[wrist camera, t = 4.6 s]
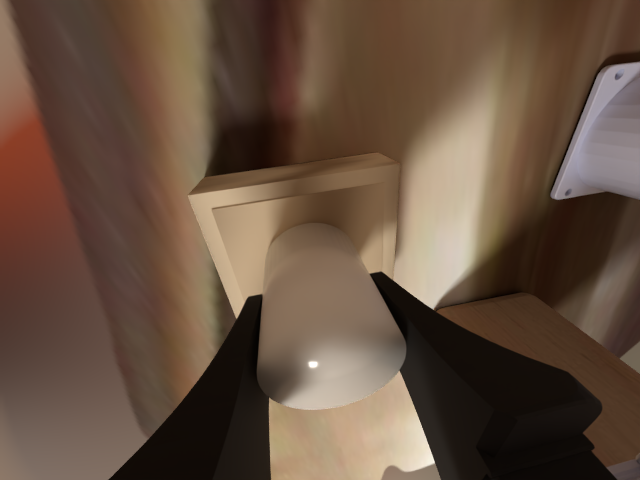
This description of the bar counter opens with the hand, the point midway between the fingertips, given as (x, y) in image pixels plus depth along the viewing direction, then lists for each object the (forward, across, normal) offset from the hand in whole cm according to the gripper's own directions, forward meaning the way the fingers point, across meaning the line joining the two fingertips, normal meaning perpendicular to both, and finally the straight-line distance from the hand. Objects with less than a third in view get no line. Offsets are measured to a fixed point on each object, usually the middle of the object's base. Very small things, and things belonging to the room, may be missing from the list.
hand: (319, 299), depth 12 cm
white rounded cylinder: (+2, 0, 0) cm, 2 cm away
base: (+6, 0, 0) cm, 6 cm away
